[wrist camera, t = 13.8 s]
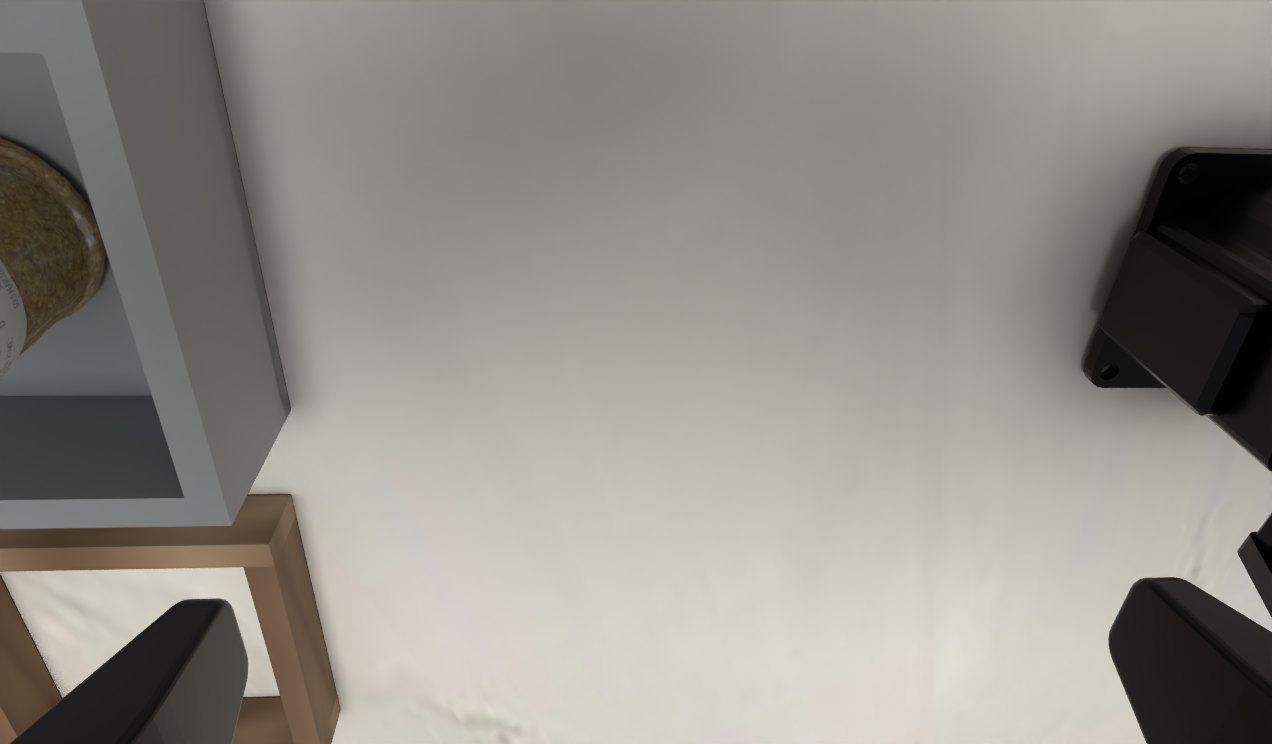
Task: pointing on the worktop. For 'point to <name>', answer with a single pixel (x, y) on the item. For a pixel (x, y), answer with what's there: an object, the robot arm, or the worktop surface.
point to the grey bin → (137, 278)
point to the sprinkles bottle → (41, 250)
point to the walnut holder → (257, 540)
